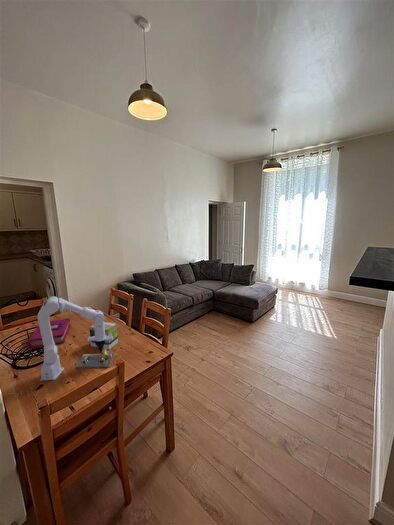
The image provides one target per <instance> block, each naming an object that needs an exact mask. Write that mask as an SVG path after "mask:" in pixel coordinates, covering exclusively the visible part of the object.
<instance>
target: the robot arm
mask: <svg viewBox="0 0 394 525" xmlns="http://www.w3.org/2000/svg"><path fill="white" fill-rule="evenodd" d="M64 310H68V311H72V312H75V313H77V314H80V316H81V317H83V318H86V319H88V320H92V321H93V324H94V330H95V336H93V337H90V336H88V338H87V342H91V341H96V342H95V344H96V345H97V347H96V348H97V349H98V351H99V352H100V353H102V350H103V347H104V343H105V341H106V340H110V341H112V340H113V336H106V335H105V325H104V322H105V320H106V317H105V315H104V313H103V311H101V310H99V309H98V310H97V309H94V308H93V309H92V307H91V306H88V307H87V306H83V307H82V306H80V305H78V304H75V303H72V302H70V301H68V300H66V299H64V298H62V297H58V296H54V295H53V296H49V297H48V298H47V299H46V300H44V302H43V304H42V306H40V309H39V312H38V314H37V316H36V317H37V318H36V319H37V322H38V326H39V327H40V332H41V336H42V341H43V345H44V347H43V363H42V364H43V365H42V367H41V369H40V376H41V378H40V381H55V380H57V378H58V377H59V376H60V375H61V374H62V372H63V371H64V370H65V367H61V362H60V361H61V360H60V355H59V354H58V349H59V348H58V345H55V343H54V340H53V336H52V331H51V326H50V321H51V320H50V316H51V315H54V314H55V313H56V312H58V311H60V312H61V311H64Z"/></svg>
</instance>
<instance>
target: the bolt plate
mask: <svg viewBox="0 0 394 525" xmlns="http://www.w3.org/2000/svg"><path fill="white" fill-rule="evenodd" d="M114 358H115V354H114V353H112V357H111V358H105V360H104V361H101V358H91V359H87V361H86V362H83V357H82V356H81V358H80V359H79V361H78V362H77V363H76V364H75V369H92V368H93V369H95V368H99V369H100V368H110V366H111V364H112V362H113V360H114Z"/></svg>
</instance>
